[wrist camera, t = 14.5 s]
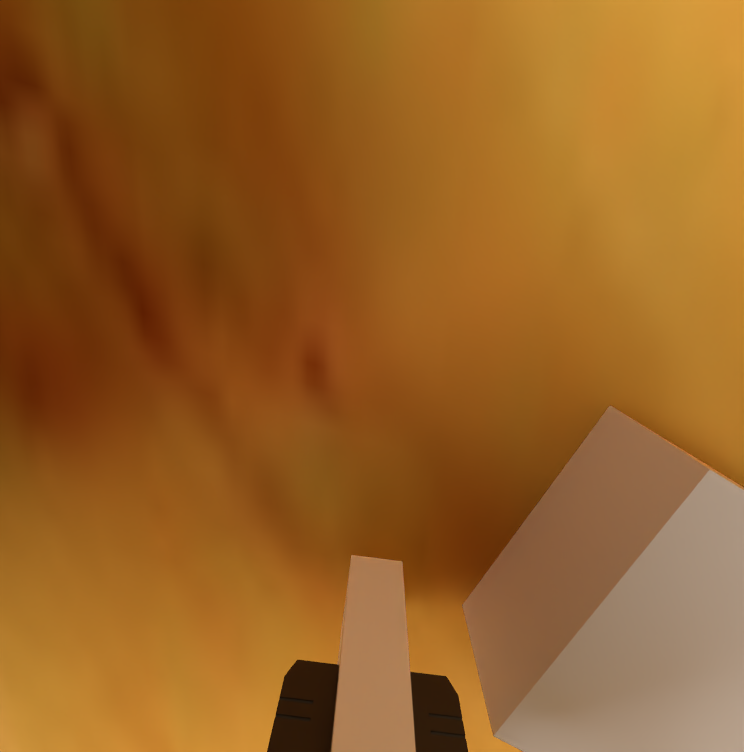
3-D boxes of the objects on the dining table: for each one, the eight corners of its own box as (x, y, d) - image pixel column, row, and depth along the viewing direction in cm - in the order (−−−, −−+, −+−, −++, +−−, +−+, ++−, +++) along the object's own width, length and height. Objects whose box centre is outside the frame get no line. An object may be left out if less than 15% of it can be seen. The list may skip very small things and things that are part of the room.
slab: (460, 599, 17) (493, 736, 12) (606, 402, 16) (710, 469, 11) (741, 752, 18) (872, 931, 14) (903, 585, 17) (1116, 719, 12)
